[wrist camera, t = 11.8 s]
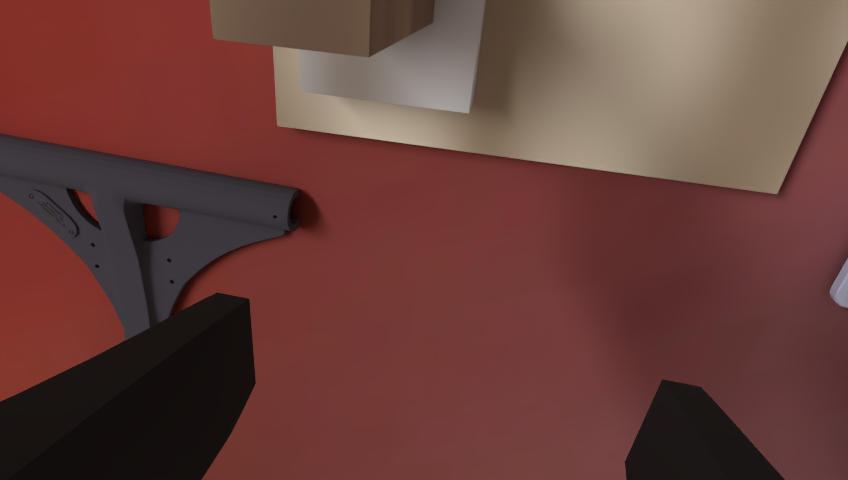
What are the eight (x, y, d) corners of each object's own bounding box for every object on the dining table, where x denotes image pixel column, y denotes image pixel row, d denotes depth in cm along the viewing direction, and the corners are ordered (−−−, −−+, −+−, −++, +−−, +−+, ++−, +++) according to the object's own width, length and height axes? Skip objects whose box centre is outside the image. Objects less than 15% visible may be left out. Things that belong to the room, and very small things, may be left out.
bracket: (52, 386, 27) (7, 425, 25) (-36, 120, 20) (-111, 139, 18) (304, 441, 26) (283, 489, 24) (306, 180, 19) (276, 210, 17)
